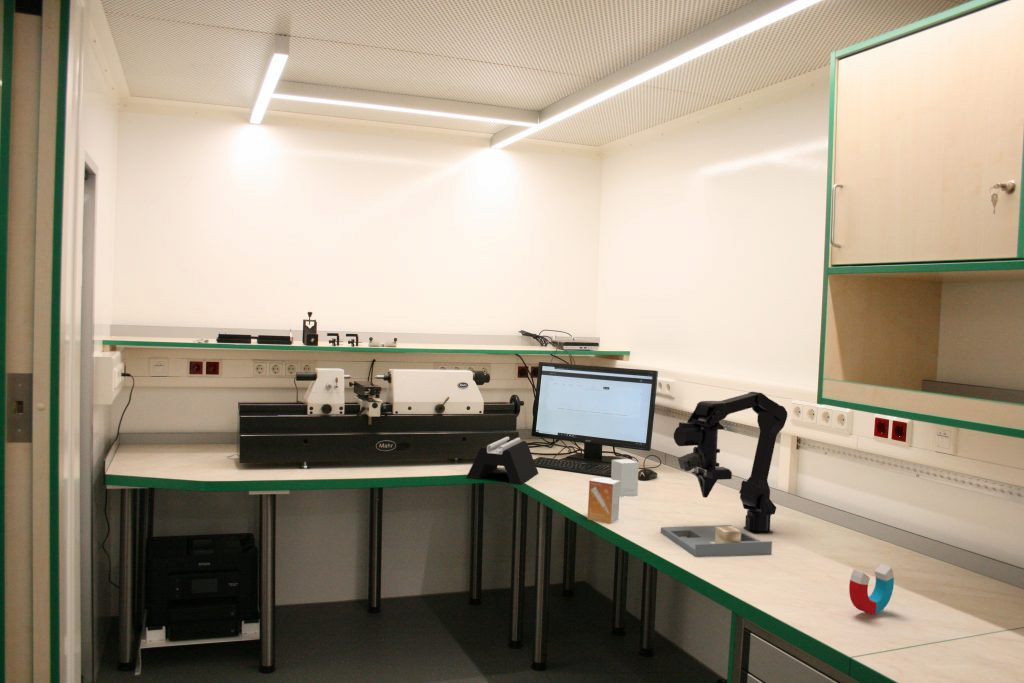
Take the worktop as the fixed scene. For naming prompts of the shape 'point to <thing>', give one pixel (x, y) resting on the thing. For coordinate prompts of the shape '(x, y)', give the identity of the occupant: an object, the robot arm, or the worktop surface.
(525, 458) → the device stand
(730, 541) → the maple block
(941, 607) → the worktop surface
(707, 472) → the robot arm
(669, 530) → the board
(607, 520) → the small box
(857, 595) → the magnet
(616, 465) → the supplement box
